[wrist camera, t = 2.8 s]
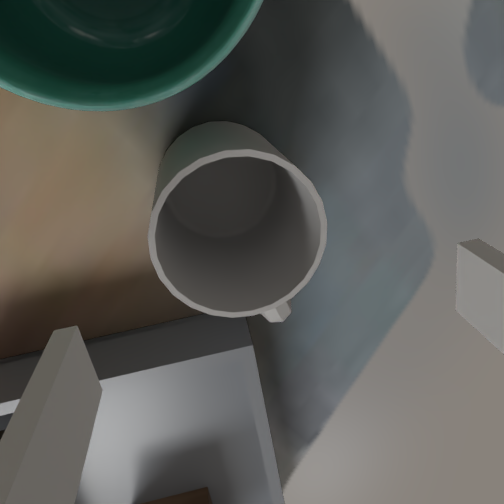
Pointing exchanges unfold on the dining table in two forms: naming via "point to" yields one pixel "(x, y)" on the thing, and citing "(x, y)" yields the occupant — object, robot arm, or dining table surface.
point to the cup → (234, 223)
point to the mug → (115, 48)
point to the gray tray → (170, 414)
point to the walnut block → (186, 498)
